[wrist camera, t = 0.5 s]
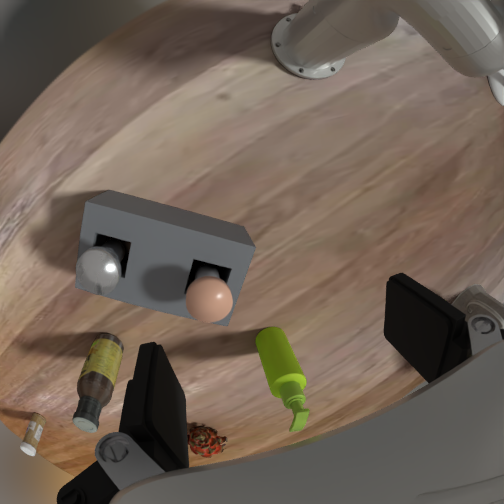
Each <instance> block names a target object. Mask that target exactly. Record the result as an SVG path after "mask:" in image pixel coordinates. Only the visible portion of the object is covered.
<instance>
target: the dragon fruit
mask: <svg viewBox="0 0 504 504" xmlns="http://www.w3.org/2000/svg"><path fill="white" fill-rule="evenodd" d="M187 441H188V444H189V445H190V448H191V450H192V451H193V453H195V454H200V455H201V456H203V457H206V458H211V456H212V454H218V453H222V452H223V450H224V449H223V446H224V445H226V444H223V445H220V444H222V443H223V442H225V441H226V442H227V437H225V436H224V437H220V436H217V430H215V429H208V428H206V427H198V428H196V427H194V428H191V429H190V435H187ZM222 449H223V450H222Z"/></svg>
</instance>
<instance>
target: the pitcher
mask: <svg viewBox="0 0 504 504" xmlns="http://www.w3.org/2000/svg"><path fill="white" fill-rule="evenodd" d="M451 305H453V306H454V307H456V308H457V309H459V310H460V311H461V312H463V313H464V314H466V318H465V321H466V322H468V321H469V319H470V318H471V317H472V316H475V315H480V314H482V315H487V316H490V317H492V318H493V319H495V320H496V321H497V323H498V325H499V329H504V305H503V304H502V303H500V302H499V301H498V300H496V299H495V298H493V297H492V296H490V295H489V294H487V293H486V291H485V289H484V288H483V287H482V286H481V285H478V284H474V285H472V286H470V287H468V288H466V289H465V290H464V291H463V292H462V293H461V294H459V296H458V297H457V298H456V299H455V300H454V302H453V303H452V304H451Z"/></svg>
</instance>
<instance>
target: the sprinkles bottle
mask: <svg viewBox="0 0 504 504" xmlns="http://www.w3.org/2000/svg"><path fill="white" fill-rule="evenodd" d="M45 423H46V420H45V419H44V417H42V416H41V415H40V414H37V413H33V415H32V418H31V421H30V423H29V425H28V428H27V431H26V434H25V437H24V439H23V442H22V443H21V446H20V448H21V450H22V451H24V452H25V453H26V454H28V455H30V456H35V453H36V448H37V445H38V442H39V439H40V436H41V433H42V430H43V427H44V424H45Z"/></svg>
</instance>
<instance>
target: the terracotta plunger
mask: <svg viewBox="0 0 504 504" xmlns="http://www.w3.org/2000/svg"><path fill="white" fill-rule="evenodd" d="M232 305H233V299H232V295H231V291H230V288H229V286H228V285H227V283H226V282H224V281H223V280H222V279H220V277H219V272H218V270H217V268H216V267H215V266H213V265H211V264H203V265H201V266H199V267H198V268H197V270H196V272H195V280H194V281H193V282H192V283H191V284H190V286H189V287H188V289H187V293H186V307H187V310H188V312H189V313H190V315H191V316H192V317H194V318H195V319H197V320H199V321H202V322H207V323H211V322H216V321H219V320H221V319H223V318H225V317H226V316H227V315H228V314H229V312H230V311H231V308H232Z"/></svg>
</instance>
